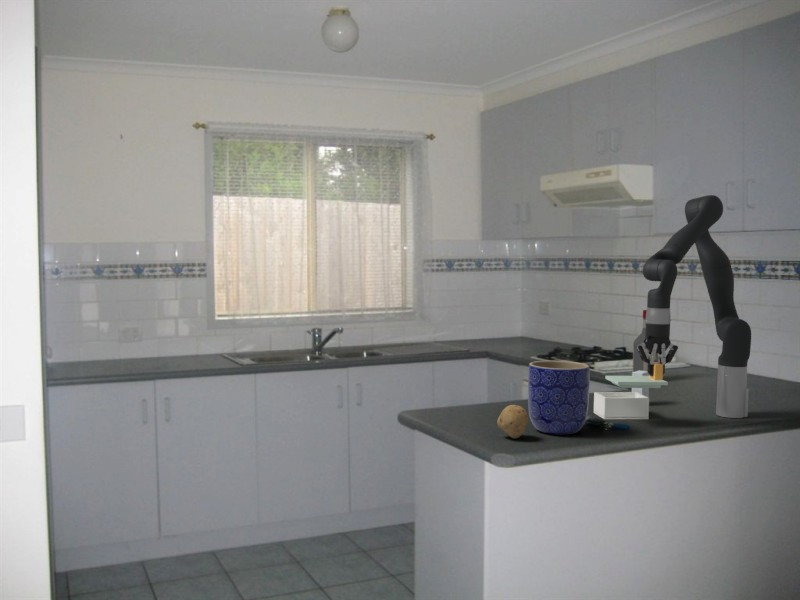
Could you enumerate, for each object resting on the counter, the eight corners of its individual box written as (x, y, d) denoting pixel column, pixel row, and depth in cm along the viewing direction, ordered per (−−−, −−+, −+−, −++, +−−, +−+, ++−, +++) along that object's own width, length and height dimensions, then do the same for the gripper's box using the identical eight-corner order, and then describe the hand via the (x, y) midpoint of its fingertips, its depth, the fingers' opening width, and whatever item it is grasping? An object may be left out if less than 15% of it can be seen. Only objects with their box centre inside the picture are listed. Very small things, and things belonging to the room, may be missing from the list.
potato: (493, 439, 247) (494, 406, 247) (501, 433, 256) (502, 400, 255) (524, 443, 244) (525, 408, 244) (531, 436, 253) (532, 403, 252)
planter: (554, 422, 273) (556, 358, 272) (600, 432, 259) (602, 365, 258) (514, 429, 262) (516, 363, 260) (560, 440, 248) (562, 370, 246)
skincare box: (637, 402, 309) (638, 370, 308) (648, 404, 306) (650, 371, 305) (630, 405, 304) (631, 372, 303) (641, 406, 301) (643, 373, 301)
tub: (636, 412, 291) (636, 392, 291) (648, 419, 280) (649, 398, 280) (593, 412, 290) (594, 392, 289) (604, 419, 279) (605, 398, 278)
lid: (652, 382, 278) (653, 360, 278) (667, 388, 266) (668, 366, 266) (605, 382, 277) (606, 360, 276) (617, 388, 265) (618, 365, 264)
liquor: (660, 381, 357) (663, 310, 355) (646, 383, 352) (649, 311, 349) (643, 378, 364) (645, 309, 362) (629, 380, 359) (631, 309, 357)
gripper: (674, 321, 275) (672, 374, 276) (632, 320, 274) (630, 373, 275) (684, 323, 267) (681, 377, 269) (641, 322, 266) (639, 377, 267)
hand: (655, 375), depth 272 cm, fingers closed on lid, 2 cm apart
